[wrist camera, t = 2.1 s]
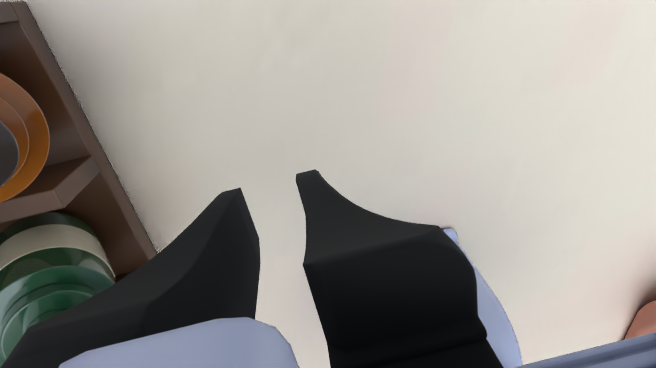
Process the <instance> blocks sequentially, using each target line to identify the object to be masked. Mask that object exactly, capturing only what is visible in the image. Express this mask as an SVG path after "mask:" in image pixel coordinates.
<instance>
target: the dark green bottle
mask: <svg viewBox="0 0 656 368" xmlns="http://www.w3.org/2000/svg"><path fill="white" fill-rule="evenodd" d="M115 283H117V282H116V279H115V275H114V272H113V270H112V268H111V265H110V263H109V260H108V258H107V255H106V253H105V251H104V249H103V247H102V245H101V243H100V240H99V238H98V236H97V234H96V232H95V231H94V229H93V228H92V227H91V226H90V225H89V224H87V223H86V222H85V221H83V220H81V219H80V218H77V217H75V216H72V215H69V214H64V213H55V212H49V213H41V214H37V215H33V216H29V217H25V218H22V219H20V220H18V221H16V222H14V223H12V224H11V225H9V226H8V227H7V228H5V229H4V230H3V231H2V232H1V233H0V368H1V366H2V365H3V363H4V362H5V360H6V359H7V358H8V356H9V355H10V353H11V352H12V350H13V349H14V347H15V346H16V345H17V343H18V342H19V340H20V339H21V337H22V336H23V335H24V333H25V332H26V330H27V329H28V328H29V327H30V326H32V325H35V324H37V323H39V322H42V321H44V320H46V319H48V318H50V317H52V316H54V315H56V314H59V313H61V312H63V311H65V310H67V309H69V308H71V307H73V306H75V305H77V304H79V303H81V302H83V301H85V300H87V299H89V298H91V297H92V296H94V295H96V294H98V293H100V292H101V291H103V290H105V289H107V288H108V287H110V286H112V285H113V284H115Z"/></svg>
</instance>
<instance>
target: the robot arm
mask: <svg viewBox="0 0 656 368" xmlns="http://www.w3.org/2000/svg"><path fill="white" fill-rule="evenodd" d="M296 183H297V186H298V190H299V193H300V197H301V200H302V204H303V208H304V211H305V215H306V251H305V257H304V262H303V267H304V270H305V273H306V277H307V280H308V283H309V286H310V289H311V293H312V296H313V299H314V302H315V305H316V309H317V312H318V315H319V318H320V322H321V325H322V328H323V331H324V334H325V338H326V341H327V345H328V352H329V359H330V366H331V368H656V332H653V333H649V334H645V335H641V336H637V337H633V338H629V339H625V340H621V341H617V342H614V343H610V344H606V345H602V346H598V347H594V348H590V349H586V350H582V351H578V352H574V353H570V354H566V355H562V356H558V357H554V358H550V359H546V360H542V361H538V362H534V363H530V364H526V365H522V358H521V353H520V349H519V345H518V341H517V338H516V335H515V333H514V330H513V328H512V325H511V323H510V321H509V319H508V316H507V314H506V312H505V311H504V309H503V307H502V305H501V303H500V302H499V300H498V299H497V297H496V296H495V294H494V293H493V291H492V290H491V289H490V287H489V286H488V284H487V283H486V281H485V280H484V279H483V277H482V276H481V274H480V273H479V272H478V270H477V269H476V267H475V266H474V265H473V263H472V262H471V260H470V259H469V258H468V256H467V255H466V253H465V252H464V251H463V249H462V248H461V246H460V245H459V243H458V238H457V233H456V232H455V230H454V229H451V228H449V229H444V230H442V229H441V228H440V227H439V226H436V225H426V224H416V223H408V222H404V221H399V220H394V219H391V218H387V217H384V216H381V215H378V214H375V213H372V212H370V211H367V210H365V209H363V208H361V207H359V206H357V205H355V204H354V203H352V202H351V201H349V200H348V199H346V198H345V197H343V196H342V195H341V194H340V193H338V192H337V191H336V190H335V189H334V188H333V187H331V186H330V185H329V184H328V183H327V182H326V181H325V180H324V179H323V177H322V176H321V175H320V173H319V172H318V171H317V170H311V171H307V172H302V173H298V174H296ZM259 272H260V247H259V237H258V234H257V231H256V229H255V226H254V223H253V221H252V218H251V215H250V212H249V210H248V207H247V204H246V201H245V199H244V196H243V193H242V191H241V188H237V189H233V190H229V191H225V192H222V193H221V194H219V195H218V196H217V197H216V198H215V199H214V200H213V201H212V202H211V203H210V204H209V205H208V206H207V208H206V209H205V210H204V211H203V212H202V213H201V214H200V215H199V216H198V217H197V218H196V219H195V220H194V221H193V222H192V223H191V224H190V225H189V226H188V227H187V228H186V229H185V230H184V231H183V232H182V233H181V234H180V235H179V236H178V237H177V238H176V239H175V240H174V241H172V242H171V243H170V244H169V245H168V246H167V247H166V248H164V249H163V250H162V251H161V252H159V253H158V254H157V255H156V256H154V257H153V258H152V259H150V260H149V261H148V262H147V263H145V264H144V265H142V266H141V267H139V268H138V269H136V270H135V271H133V272H132V273H130V274H129V275H127V276H126V277H124V278H123V279H121V280H120V281H118V282H117V283H115V284H113V285H112V286H110V287H108V288H107V289H105V290H103V291H101V292H100V293H98V294H96V295H94V296H92V297H91V298H89V299H87V300H85V301H83V302H81V303H79V304H77V305H75V306H73V307H71V308H69V309H67V310H65V311H63V312H61V313H59V314H56V315H54V316H52V317H50V318H48V319H46V320H44V321H42V322H39V323H37V324H35V325H32V326H30V327H29V328H28V329H27V330H26V332H25V333H24V335H23V336H22V337H21V339H20V340H19V342H18V343H17V345H16V346H15V347H14V349H13V350H12V352H11V353H10V355H9V356H8V358H7V359H6V360H5V362H4V363H3V365H2V366H1V368H300V367H299V366H298V364H297V361H296V358H295V356H294V353H293V351H292V348H291V345H290V344H289V343H288V341H287V340H286V339H285V338H284V337H283V336H282V334H281V333H280V332H279V331H278V330H277V329H276V327H274V326H271V325H268V324H265V323H262V322H260V321H257V320H255V312H256V303H257V293H258V283H259Z"/></svg>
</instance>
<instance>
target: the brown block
mask: <svg viewBox="0 0 656 368" xmlns="http://www.w3.org/2000/svg"><path fill="white" fill-rule="evenodd" d="M653 332H656V300H655V301H652V302H650V303H648V304H646V305H645V306H643V307H642V308H641V309H640V310H639V311H638V313H637V314H636V316H635V318H634V320H633V322H632V324H631V326H630V328H629V330H628V333H627V335H626V337H625V339H629V338H633V337H637V336H641V335H645V334H649V333H653ZM625 339H624V340H625Z"/></svg>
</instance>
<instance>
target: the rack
mask: <svg viewBox="0 0 656 368" xmlns="http://www.w3.org/2000/svg"><path fill="white" fill-rule="evenodd" d="M0 73H1V74H3V75H5V76H6V77H8V78H10V79H11V80H13V81H14V82H15V83H17V84H18V85H20V86H21V87H22V88H23V89H24V90H25V91H26V92H27V93H28V94H29V95H30V96H31V97H32V98H33V99H34V100H35V102H36V103H37V105H38V106H39V108H40V109H41V111H42V113H43V115H44V117H45V119H46V122H47V125H48V128H49V135H50V147H49V154H48V157H47V160H46V163H45V165H44V167H43V169H42V171H41V172H40V173H39V175H38V176H37V178H36V179H35V180H34V181H33V182H32V183H31V184H30V185H29V186H28V187H27V188H25V189H24V190H23V191H22V192H20V193H18V194H17V195H15V196H14V197H12V198H10V199H8V200H6V201H4V202H2V203H0V233H1V232H2V231H3V230H4V229H5V228H7V227H8V226H9V225H11V224H12V223H14V222H16V221H18V220H20V219H22V218H25V217H29V216H33V215H37V214H41V213H49V212H55V213H64V214H69V215H72V216H75V217H77V218H80V219H81V220H83V221H85V222H86V223H87V224H89V225H90V226H91V227H92V228H93V229H94V231H95V232H96V234H97V236H98V238H99V240H100V243H101V245H102V247H103V249H104V251H105V253H106V255H107V258H108V260H109V263H110V265H111V268H112V270H113V272H114V275H115V279H116V282H118V281H120V280H121V279H123V278H124V277H126V276H127V275H129V274H130V273H132V272H133V271H135V270H136V269H138V268H139V267H141V266H142V265H144V264H145V263H147V262H148V261H149V260H150V259H152V258H153V257H154V256H156V255H157V253H156V251H155V249H154V247H153V245H152V243H151V241H150V239H149V237H148V235H147V234H146V232H145V230H144V228H143V226H142V224H141V222H140V220H139V218H138V216H137V214H136V213H135V211H134V209H133V207H132V205H131V203H130V201H129V199H128V197H127V195H126V193H125V192H124V190H123V188H122V186H121V184H120V182H119V180H118V178H117V176H116V174H115V172H114V171H113V169H112V167H111V165H110V163H109V161H108V159H107V157H106V155H105V153H104V151H103V150H102V148H101V146H100V144H99V142H98V140H97V138H96V136H95V134H94V132H93V130H92V129H91V127H90V125H89V123H88V121H87V119H86V117H85V115H84V113H83V111H82V109H81V108H80V106H79V104H78V102H77V100H76V98H75V96H74V94H73V92H72V90H71V88H70V87H69V85H68V83H67V81H66V79H65V77H64V75H63V73H62V71H61V69H60V68H59V66H58V64H57V62H56V60H55V58H54V56H53V54H52V52H51V50H50V48H49V47H48V45H47V43H46V41H45V39H44V37H43V35H42V33H41V31H40V29H39V27H38V26H37V24H36V22H35V20H34V18H33V16H32V14H31V12H30V10H29V8H28V6H27V5H26V3H25V2H24V1H18V2H0Z"/></svg>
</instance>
